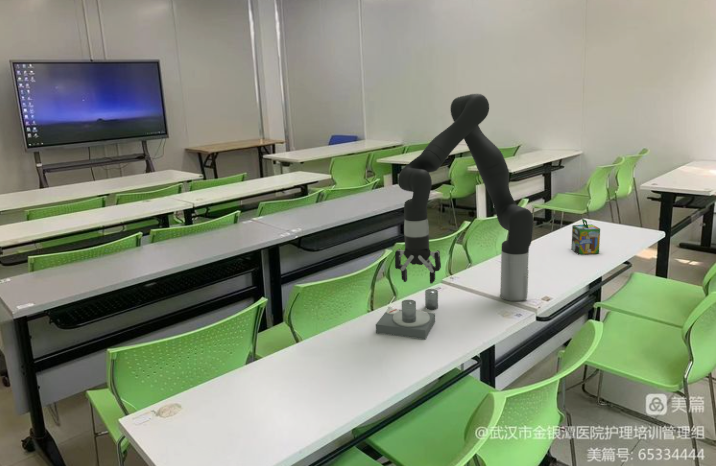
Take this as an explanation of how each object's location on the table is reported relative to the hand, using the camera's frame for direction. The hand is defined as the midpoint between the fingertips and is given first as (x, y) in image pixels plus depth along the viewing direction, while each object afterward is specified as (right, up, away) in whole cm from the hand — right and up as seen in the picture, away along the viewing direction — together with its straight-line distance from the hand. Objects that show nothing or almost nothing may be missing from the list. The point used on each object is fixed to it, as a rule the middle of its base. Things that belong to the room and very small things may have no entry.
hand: (418, 281), depth 168 cm
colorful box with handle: (+82, +7, +69) cm, 108 cm away
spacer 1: (-3, -12, -2) cm, 12 cm away
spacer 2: (+6, -10, +17) cm, 21 cm away
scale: (-4, -15, +2) cm, 15 cm away
